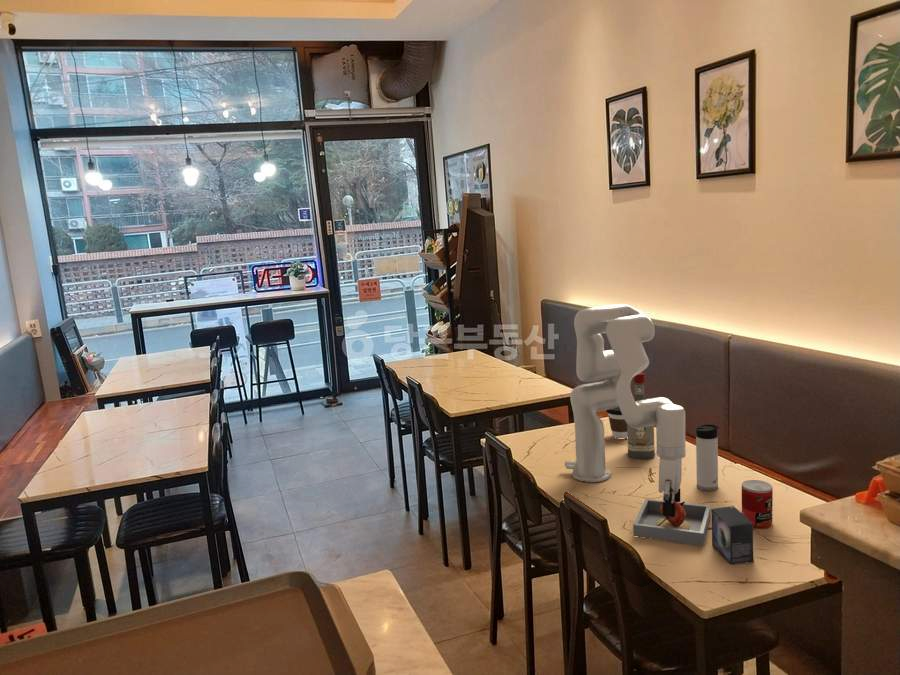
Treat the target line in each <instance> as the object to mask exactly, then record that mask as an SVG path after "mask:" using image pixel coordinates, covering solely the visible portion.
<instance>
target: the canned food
mask: <svg viewBox="0 0 900 675" xmlns="http://www.w3.org/2000/svg"><path fill="white" fill-rule="evenodd" d="M773 499H774V498H773V485H772V484H771V483H769V482H768V481H763V480H759V479H750V480H749V479H748V480H744V481H743V482H742V483H741V513H742V514H743V515H744V516H746V517H747V518H748V519H749V520H750V521H751V522H753V529H757V530H758V529H760V530H761V529H763V528H764V529H767V528H768V529H769V528H770V527H771V526H772V524H773V506H774V505H773V501H774V500H773Z"/></svg>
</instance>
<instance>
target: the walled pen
mask: <svg viewBox="0 0 900 675" xmlns="http://www.w3.org/2000/svg"><path fill="white" fill-rule="evenodd" d="M677 503H681V501H680V502H677ZM662 504H663V499H661V500H660V499H650V498H645V499H644V501H643V503H642V505H641V507H640V510H639V512H638V513H637V515H636V518H635V520H634V521H633V524H632V526H633V528H632V530H633V534H632V535H633V536H638V537H637V538H640V537H645V538H644V539H647V538H652V539H651V540H655V539H657V540H656V541H662V540H663V541H664V540H665V541H664V542H670V541H671V543H677V542H678V544H685V543H686V545H692V544H693V546H699V547H701V546H702V547H704V545H705V541H706V537H707V533H708V529H709V526H710V522H711V519H712V517H711V509H712V508H711V506H712V505H707V504H706V505H705V504H700V503H699V504H698V503H696V504H695V503H689V502H688V503H687V502H685V503H684V504H683V509H684V510H685V513H686V518H685V520H684V522H683V523H682V524H681V525H679V526H677V527H674V526H673V525H672V523H670V522H669V521H668V520H665V521H664V522H663V523H662V524H661V525H659V524H660V523H661V522H662V521H663V520H664V519H665V517H666V516H665V517H664V516H663V514H662V513H661V512H660V507H661V505H662ZM657 525H659V526H657ZM633 536H632V537H633ZM658 539H659V540H658Z"/></svg>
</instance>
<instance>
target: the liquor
mask: <svg viewBox="0 0 900 675" xmlns="http://www.w3.org/2000/svg"><path fill="white" fill-rule="evenodd" d="M645 374H646V373H644V372H640V373H639V374H637V375H636V376H634V377H633V383H634V392H635V393H634V394H635V397H634V400H635V401H639V400H645V399H646V396H645V383H646V382H645V380H646V379H645V378H646V377H645ZM627 437H628V439H627V455H628V457H629V458H631V457H632V459H634V460H635V458H636V460H650V459H653V458H654V457H655V456H656V455H655V454H656V452H655V450H656V449H655V447H656V446H655V425H653V426H648V427H643V428H632V427H630V426H629V425H628V424H627Z"/></svg>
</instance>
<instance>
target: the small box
mask: <svg viewBox="0 0 900 675" xmlns="http://www.w3.org/2000/svg"><path fill="white" fill-rule="evenodd" d="M711 546H712V547H713V548H714V549H715V550H716V551H717V552H718V553H719V554H720V555H721V556H722V558H724V559H725V561H727V562H728V564H729V565H736V564H735V563H740V564H746V562H748V563H753V562H754V561H755V560H754V528H753V522H751V521H750V520H749V519H748V518H747V517H746V516H744V515H743V514H742V511H740V510H739V509H737V508H736V507H735V506H733V505H731V506H722V507H721V506H720V507H716V508H711Z"/></svg>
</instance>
